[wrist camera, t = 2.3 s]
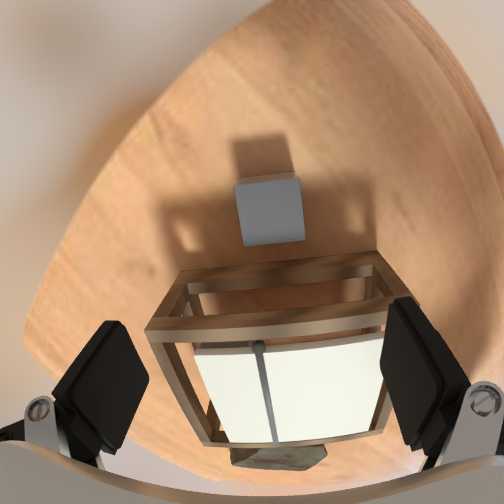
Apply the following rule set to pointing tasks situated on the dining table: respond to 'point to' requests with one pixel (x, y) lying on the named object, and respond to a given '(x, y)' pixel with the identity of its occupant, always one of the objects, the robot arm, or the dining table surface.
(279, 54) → the dining table surface
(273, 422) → the hatch leaf
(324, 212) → the dining table surface
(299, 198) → the basalt block
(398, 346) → the robot arm
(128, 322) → the dining table surface
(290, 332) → the walnut hatch frame
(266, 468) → the marble piece
